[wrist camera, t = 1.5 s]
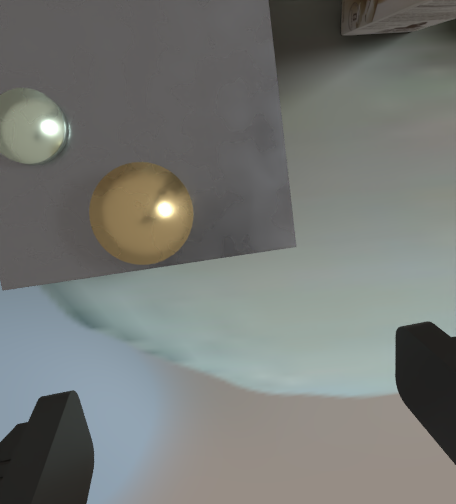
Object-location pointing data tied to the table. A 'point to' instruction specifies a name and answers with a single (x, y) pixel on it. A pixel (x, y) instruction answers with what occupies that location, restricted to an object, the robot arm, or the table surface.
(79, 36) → the level plate
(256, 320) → the table surface
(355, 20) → the coffee box
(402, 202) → the table surface
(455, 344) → the robot arm
